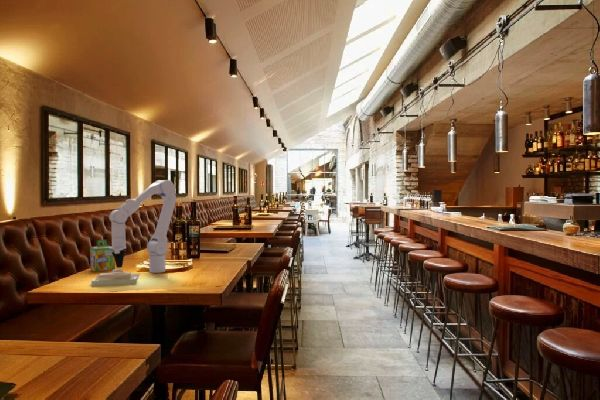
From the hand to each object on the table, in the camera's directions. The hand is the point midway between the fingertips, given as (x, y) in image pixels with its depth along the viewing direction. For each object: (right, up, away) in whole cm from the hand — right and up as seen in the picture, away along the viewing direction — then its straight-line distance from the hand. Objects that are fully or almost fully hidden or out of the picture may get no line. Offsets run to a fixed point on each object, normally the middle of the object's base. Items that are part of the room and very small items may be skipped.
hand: (119, 267), depth 210 cm
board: (+1, -5, -7) cm, 9 cm away
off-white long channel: (+4, -5, -15) cm, 16 cm away
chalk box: (-15, -5, +19) cm, 25 cm away
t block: (+3, -4, -11) cm, 12 cm away
